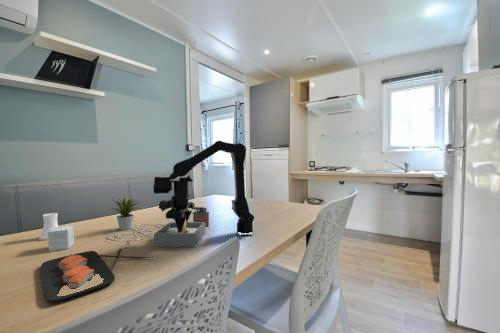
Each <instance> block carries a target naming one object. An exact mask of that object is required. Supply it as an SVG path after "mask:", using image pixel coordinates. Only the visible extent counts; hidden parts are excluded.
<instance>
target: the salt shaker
mask: <svg viewBox="0 0 500 333" xmlns="http://www.w3.org/2000/svg"><path fill="white" fill-rule="evenodd" d="M58 216H59V215H58V212H51V213H50V212H49V213H45V214H42V218H43V228H42V231H41V235H40V236H39V237H38V238H39V240H40V241H48V232H49V231H50V230H52V229H53V228H54V227H59V222H58Z"/></svg>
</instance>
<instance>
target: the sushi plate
mask: <svg viewBox="0 0 500 333" xmlns="http://www.w3.org/2000/svg"><path fill="white" fill-rule="evenodd" d="M121 252H122V248H121V249H120V248H119V249H118V252H117V255H108V254H107V255H103V254H99V253H98V252H96V251H95V250H88V251H83V252H77V253H74V254H70V255H65V256H61V257H57V258H53V259H49V260H46V261H44V262H42V264H41V266H40V274H41V282H42V288H43V294H44V298H45V300H46V302H49V303H54V302H59V301H63V300H66V299H67V300H68V299H69V298H72V297H76V296H79V295H82V294H85V293H88V292H92V291H94V290H97V289H100V288H102V287H105V286H108V285H110V284H112V283H113V282H114V281H115V279H116V276H115V274H114V272H113V271H114V267H115V266H116V263H117V261H118V258H121V259H122V258H123V259H134V258H151V257H152V256H151V257H150V256H149V257H147V256H128V255H127V256H125V255H120V254H121ZM102 257H104V258H105V257H107V258H115V259H114V262H113V265H112V267H111V269H110V267H109V266H108V264H107V263H106V262H105V260H103V258H102ZM95 274H99V275H100V277H101V278H103V279H104V280H103V283H101V284H99V285H97V286H94V287H91V288H88V289H85V290H83V291H80V292H76V293H73V294H69V295H66V296H60V297H59V296H57V294H59V291H60V289H61V288H62V287H63V286H64V285H65V286H66V285H67V286H68V287H69V288H70V289H76V288H78V287H80V286H81V285H82V284H84V283H85V282H86V281H90V280H91V279H92V277H93V275H94V276H95ZM90 278H91V279H90Z"/></svg>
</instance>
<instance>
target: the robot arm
mask: <svg viewBox="0 0 500 333" xmlns="http://www.w3.org/2000/svg"><path fill="white" fill-rule="evenodd" d="M219 151H220V152H225V153H229V154H230V157H231V160H232V163H233V171H234V172H233V173H234V191H235V192H234V194H235V197H234V199H231V203H232V204H231V205H232V206H231V210H232V211H233V212H234V214H235V215H236V217H238V220H237V223H236V233H237V232H241V233H249V232H253V233H254V229H253V224H254V223H253V222H254V221H255V216H254V215H253V214H252V213H251V212H250V209H249V204H248V201H247V197H246V189H245V188H246V187H245V167H244V165H245V160H246V153H247V148H246V146H245V144H243V143H240V142H238V143H231V142H226V141H222V140H216V141H215V142H214V143H213V144H211V145H209V146H208V147H206V148H205V149H203V150H201V151H200V152H198V153H197V154H195V155H193V156H191V157H189V158H187V159H184V160H181V161H178V162H177V163H175V164H174V166H173V168H172V173H171V174H169V176H155V177H154V180H153V193H154V195H159V194H160V195H161V194H170V192H171V191H173V195H171V199H169V200H165V199H163V200H160V201H159V203H158V209H160V211H161V212H164V211H166V210H167V212H166V213H165V219H170V220H171V219H172V220H174V222H176V225H177V228H178V231H179V232H182V229H183V226H184V223H185V220H186V224H187V222H189V219H190V217H191V215H192V213H193V211H192V210H194V208H195V207H196V205H195V203H194V202H193V201H189V198H190V196H191V194H189V183H192V182H193V181H194V180H193V178H192V177H190V175H187V174H188V173H189V172H191V171H192V170H193V169H194V168H195V167H196V166H197V165H198V164H201V163H202V162H204V161H205V160H207V159H208V158H210V157H211V156H213V155H215V154H216V153H217V152H219ZM184 176H185V177H184ZM177 178H179V179H177ZM189 209H191V210H189Z"/></svg>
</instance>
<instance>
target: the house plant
mask: <svg viewBox="0 0 500 333" xmlns="http://www.w3.org/2000/svg"><path fill="white" fill-rule="evenodd" d="M132 196H133V195H131V196H129V198H128V199H127V201H126V198H125V195H124V194H123V196H122V198H121V199H119V198H118V200H119V201H117V200H115V199H114V200H113V201H112V203H113V204H116V205H117V206H118V208H116V207H112V208H111V210H115V214H116V215H117V214H118V213H119V214H120V215H118V216H116V220H117V224H118V227H119V230H120V231H129V230H132V229H133V224H134V223H133V222H134V216H135V215H134V214H132V212H133V211H134V212H136V210H137V209H139V210H140V206H139V204H142V203H143V202H142V201H140V202H137V201H139V199H138V198H137V197H134V198H132ZM131 198H132V199H131ZM141 199H142V198H140V200H141ZM135 205H137V206H136V207H135Z"/></svg>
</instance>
